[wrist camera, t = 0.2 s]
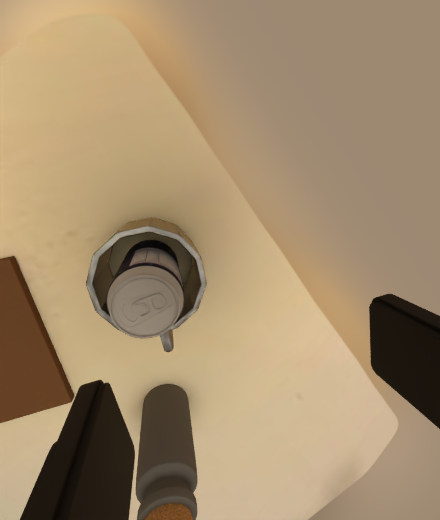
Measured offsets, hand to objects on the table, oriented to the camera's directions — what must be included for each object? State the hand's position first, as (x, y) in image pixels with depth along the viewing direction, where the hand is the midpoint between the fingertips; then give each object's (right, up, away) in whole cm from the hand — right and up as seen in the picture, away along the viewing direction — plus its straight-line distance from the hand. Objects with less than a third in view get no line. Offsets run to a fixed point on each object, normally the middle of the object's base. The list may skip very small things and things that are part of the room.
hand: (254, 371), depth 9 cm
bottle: (-8, -15, +26) cm, 31 cm away
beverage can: (-9, +3, +21) cm, 23 cm away
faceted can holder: (-9, +2, +21) cm, 23 cm away
